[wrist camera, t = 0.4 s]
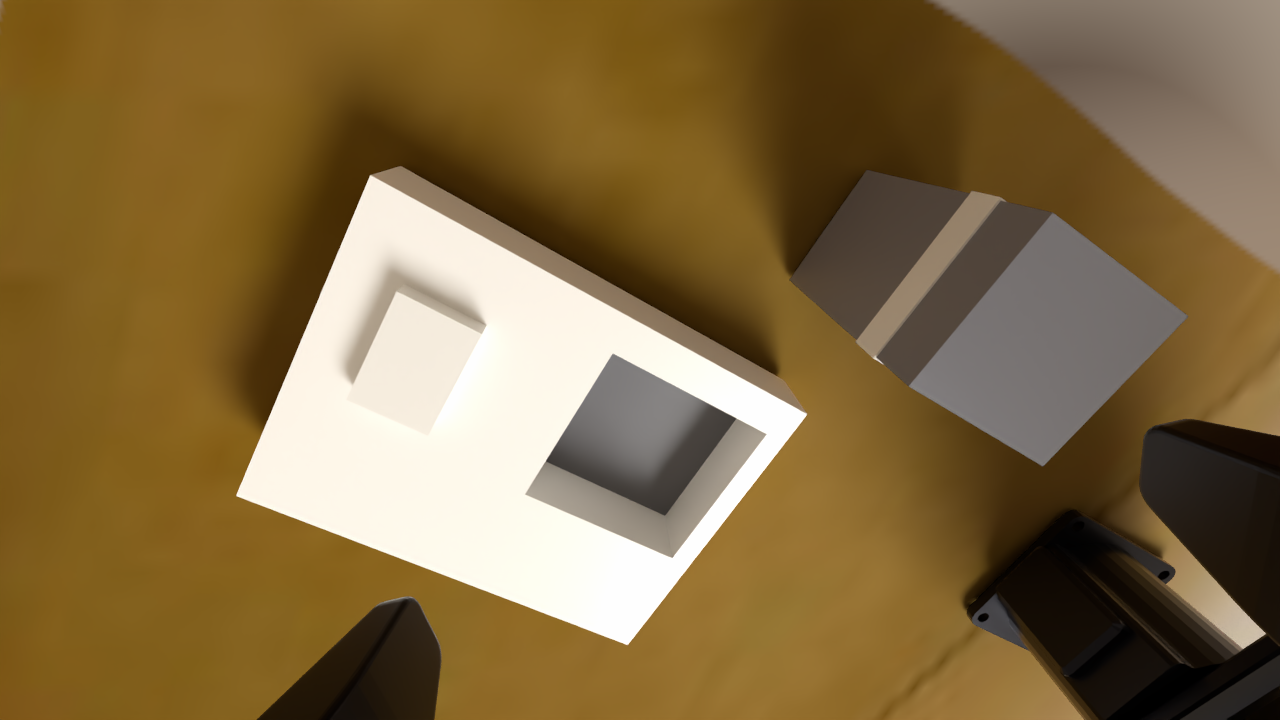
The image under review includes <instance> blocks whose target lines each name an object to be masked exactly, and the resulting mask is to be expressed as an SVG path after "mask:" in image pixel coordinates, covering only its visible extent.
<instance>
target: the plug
mask: <svg viewBox="0 0 1280 720" xmlns="http://www.w3.org/2000/svg"><path fill="white" fill-rule="evenodd" d="M790 281H791V282H792V283H793V284H794V285H795V286H797V287H798V288H799V289H800V290H801V291H802V292H803V293H804V294H806V295H807V296H808V297H809V298H810V299H811V300H812V301H813V302H815V303H816V304H817V305H818V306H819V307H820V308H821V309H822V310H823V311H825V312H826V313H827V314H828V315H829V316H830V317H831V318H832V319H834V320H835V321H836V322H837V323H838V324H839V325H840V326H841V327H843V328H844V329H845V330H846V331H847V332H848V333H849V334H850V335H852V336H853V337H854V338H855V339H856V343H857V344H858V345H859V346H860V347H861V348H862V349H863V350H865V351H866V352H867V353H868V354H869V355H870V356H871V357H872V358H874V359H875V360H877V361H879V362H880V363H882V364H884V365H885V366H886V367H887V368H889V369H890V370H891V371H892V372H893V373H894V374H895V375H896V376H898V377H899V378H900V379H901V380H902V381H903V382H904V383H905V384H907V385H908V386H909V387H911V388H912V389H914V390H916V391H917V392H919V393H921V394H922V395H924V396H926V397H927V398H929V399H931V400H932V401H934V402H936V403H937V404H939V405H941V406H942V407H944V408H946V409H947V410H949V411H951V412H952V413H954V414H956V415H957V416H959V417H961V418H963V419H964V420H966V421H968V422H969V423H971V424H973V425H974V426H976V427H978V428H979V429H981V430H983V431H984V432H986V433H988V434H989V435H991V436H993V437H994V438H996V439H998V440H999V441H1001V442H1003V443H1004V444H1006V445H1008V446H1009V447H1011V448H1013V449H1014V450H1016V451H1018V452H1020V453H1021V454H1023V455H1025V456H1026V457H1028V458H1030V459H1031V460H1033V461H1035V462H1036V463H1038V464H1040V465H1041V466H1044V465H1045V464H1046V463H1047V462H1048V461H1049V460H1050V459H1051V458H1052V457H1053V456H1054V455H1055V454H1056V452H1057V451H1058V450H1059V449H1060V448H1061V447H1062V446H1063V445H1064V444H1065V443H1066V442H1067V441H1068V440H1069V439H1070V438H1071V437H1072V436H1073V435H1074V434H1075V433H1076V432H1077V431H1078V430H1079V429H1080V428H1081V427H1082V426H1083V425H1084V424H1085V423H1086V422H1087V421H1088V419H1089V418H1090V417H1091V416H1092V415H1093V414H1094V413H1095V412H1096V411H1097V410H1098V409H1099V408H1100V407H1101V406H1102V405H1103V404H1104V403H1105V402H1106V401H1107V400H1108V399H1109V398H1110V397H1111V396H1112V395H1113V394H1114V393H1115V392H1116V391H1117V390H1118V389H1119V388H1120V386H1121V385H1122V384H1123V383H1124V382H1125V381H1126V380H1127V379H1128V378H1129V377H1130V376H1131V375H1132V374H1133V373H1134V372H1135V371H1136V370H1137V369H1138V368H1139V367H1140V366H1141V365H1142V364H1143V363H1144V362H1145V361H1146V360H1147V359H1148V358H1149V357H1150V356H1151V355H1152V354H1153V352H1154V351H1155V350H1156V349H1157V348H1158V347H1159V346H1160V345H1161V344H1162V343H1163V342H1164V341H1165V340H1166V339H1167V338H1168V337H1169V336H1170V335H1171V334H1172V333H1173V332H1174V331H1175V330H1176V329H1177V328H1178V327H1179V326H1180V325H1181V324H1182V323H1183V322H1184V321H1185V319H1186V318H1187V317H1188V316H1187V315H1186V314H1185V313H1183V312H1182V311H1181V310H1180V309H1178V308H1177V307H1176V306H1174V305H1173V304H1172V303H1170V302H1169V301H1168V300H1166V299H1165V298H1164V297H1163V296H1161V295H1160V294H1159V293H1157V292H1156V291H1155V290H1153V289H1152V288H1151V287H1149V286H1148V285H1147V284H1146V283H1144V282H1143V281H1142V280H1140V279H1139V278H1138V277H1136V276H1135V275H1134V274H1132V273H1131V272H1130V271H1129V270H1127V269H1126V268H1125V267H1123V266H1122V265H1121V264H1119V263H1118V262H1117V261H1116V260H1114V259H1113V258H1112V257H1110V256H1109V255H1108V254H1106V253H1105V252H1104V251H1102V250H1101V249H1100V248H1099V247H1097V246H1096V245H1095V244H1093V243H1092V242H1091V241H1089V240H1088V239H1087V238H1085V237H1084V236H1083V235H1082V234H1080V233H1079V232H1078V231H1076V230H1075V229H1074V228H1072V227H1071V226H1070V225H1068V224H1067V223H1066V222H1065V221H1063V220H1062V219H1061V218H1059V217H1058V216H1057V215H1055V214H1054V213H1052V212H1048V211H1044V210H1039V209H1035V208H1031V207H1026V206H1022V205H1018V204H1013V203H1009V202H1007V201H1005V200H1004V199H1003V198H1001V197H998V196H993V195H989V194H984V193H980V192H975V191H972V192H971V193H965V192H961V191H957V190H952V189H948V188H944V187H939V186H935V185H930V184H926V183H922V182H917V181H913V180H909V179H904V178H900V177H896V176H891V175H887V174H883V173H878V172H874V171H870V170H866V172H865V173H864V174H863V176H862V177H861V179H860V180H859V182H858V183H857V184H856V186H855V187H854V189H853V190H852V191H851V193H850V194H849V196H848V197H847V199H846V200H845V201H844V203H843V204H842V206H841V207H840V209H839V210H838V211H837V213H836V214H835V216H834V217H833V219H832V220H831V221H830V223H829V224H828V226H827V227H826V228H825V230H824V231H823V233H822V234H821V236H820V237H819V238H818V240H817V241H816V243H815V244H814V246H813V247H812V248H811V250H810V251H809V253H808V254H807V256H806V257H805V258H804V260H803V261H802V263H801V264H800V265H799V267H798V268H797V270H796V271H795V273H794V274H793V275H792V277H791V278H790Z"/></svg>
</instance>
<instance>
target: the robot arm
mask: <svg viewBox="0 0 1280 720" xmlns="http://www.w3.org/2000/svg"><path fill="white" fill-rule="evenodd" d="M1139 487H1140V491H1141V494H1142V496H1143V498H1144V500H1145V502H1146V503H1147V505H1148V506H1149V507H1150V508H1151V509H1152V511H1153V512H1154V513H1155V514H1156V515H1157V516H1158V517H1159V518H1160V519H1161V521H1162V522H1163V523H1164V524H1165V525H1166V526H1167V527H1168V528H1169V529H1170V530H1171V532H1172V533H1173V534H1174V535H1175V536H1176V537H1177V538H1178V539H1179V540H1180V542H1181V543H1182V544H1183V545H1184V546H1185V547H1186V548H1187V549H1188V550H1189V551H1190V553H1191V554H1192V555H1193V556H1194V557H1195V558H1196V559H1197V560H1198V561H1199V563H1200V564H1201V565H1202V566H1203V567H1204V568H1205V569H1206V570H1207V571H1208V572H1209V574H1210V575H1211V576H1212V577H1213V578H1214V579H1215V580H1216V581H1217V582H1218V584H1219V585H1220V586H1221V587H1222V588H1223V589H1224V590H1225V591H1226V592H1227V593H1228V595H1229V596H1230V597H1231V598H1232V599H1233V600H1234V601H1235V602H1236V603H1237V604H1238V605H1239V606H1240V607H1241V609H1242V610H1243V611H1244V612H1245V613H1246V614H1247V615H1248V616H1249V617H1250V618H1251V619H1252V620H1253V621H1254V622H1255V623H1256V624H1257V625H1258V626H1259V627H1260V628H1261V629H1262V630H1263V631H1264V632H1265V633H1266V634H1265V635H1264V636H1262V637H1261V638H1259V639H1258V640H1256V641H1255V642H1253V643H1252V644H1250V645H1249V646H1247V647H1246V648H1244V649H1242V648H1241V647H1240V646H1239V645H1238V644H1236V643H1235V642H1234V641H1233V640H1232V639H1230V638H1229V637H1228V636H1227V635H1226V634H1225V633H1223V632H1222V631H1221V630H1220V629H1219V628H1217V627H1216V626H1215V625H1214V624H1213V623H1211V622H1210V621H1209V620H1208V619H1207V618H1205V617H1204V616H1203V615H1202V614H1201V613H1199V612H1198V611H1197V610H1196V609H1195V608H1193V607H1192V606H1191V605H1190V604H1189V603H1188V602H1186V601H1185V600H1184V599H1183V598H1182V597H1180V596H1179V595H1178V594H1177V593H1176V592H1174V591H1173V590H1172V589H1171V588H1170V587H1168V586H1167V585H1166V583H1168V582H1169V581H1170V580H1171V579H1172V578H1173V577H1174V575H1175V569H1174V568H1173V567H1172V566H1171V565H1170V564H1168V563H1167V562H1166V561H1165V560H1163V559H1161V558H1159V557H1158V556H1156V555H1154V554H1153V553H1151V552H1149V551H1147V550H1146V549H1144V548H1142V547H1141V546H1139V545H1137V544H1135V543H1134V542H1132V541H1130V540H1128V539H1127V538H1125V537H1123V536H1122V535H1120V534H1118V533H1116V532H1115V531H1113V530H1111V529H1110V528H1108V527H1106V526H1104V525H1103V524H1101V523H1099V522H1098V521H1096V520H1094V519H1092V518H1091V517H1089V516H1087V515H1086V514H1084V513H1082V512H1080V511H1077V510H1071V511H1069V512H1067V513H1065V514H1064V515H1063V516H1061V517H1060V518H1059V519H1058V520H1057V521H1056V522H1055V523H1054V524H1053V525H1052V526H1051V527H1050V528H1049V529H1048V530H1047V531H1046V532H1045V533H1044V534H1043V535H1042V536H1041V537H1040V538H1039V539H1038V540H1037V541H1036V542H1035V543H1034V544H1033V545H1032V546H1031V547H1030V548H1029V549H1028V550H1027V551H1026V552H1025V553H1024V554H1023V555H1022V556H1021V557H1020V558H1019V559H1018V560H1017V561H1016V562H1015V563H1014V564H1013V565H1011V566H1010V567H1009V568H1008V569H1007V570H1006V571H1005V572H1004V573H1003V574H1002V575H1001V576H1000V577H999V578H998V579H997V580H996V581H995V582H994V583H993V584H992V585H991V586H990V587H989V588H988V589H987V590H986V591H985V592H984V593H983V594H982V595H981V596H980V597H979V598H978V599H977V600H976V601H975V602H974V603H973V604H972V605H971V606H970V607H969V608H968V609H967V616H968V617H969V619H970V620H971V621H972V623H973V624H974V625H976V626H978V627H980V628H982V629H984V630H986V631H988V632H991V633H993V634H995V635H997V636H999V637H1001V638H1003V639H1005V640H1007V641H1010V642H1012V643H1014V644H1016V645H1018V646H1020V647H1022V648H1024V649H1026V650H1029V651H1030V652H1031V653H1032V655H1033V656H1034V657H1035V658H1036V660H1037V661H1038V662H1039V663H1040V665H1041V666H1042V667H1043V668H1044V670H1045V671H1046V672H1047V673H1048V675H1049V676H1050V677H1051V679H1052V680H1053V681H1054V682H1055V684H1056V685H1057V686H1058V687H1059V689H1060V690H1061V691H1062V692H1063V694H1064V695H1065V696H1066V697H1067V699H1068V700H1069V701H1070V702H1071V704H1072V705H1073V706H1074V707H1075V709H1076V710H1077V711H1078V712H1079V714H1080V715H1081V716H1082V717H1083V719H1084V720H1280V436H1276V435H1271V434H1266V433H1261V432H1256V431H1251V430H1245V429H1240V428H1235V427H1230V426H1225V425H1220V424H1215V423H1210V422H1205V421H1200V420H1194V419H1183V420H1178V421H1173V422H1169V423H1165V424H1160V425H1156V426H1153V427H1152V428H1150V429H1149V430H1148V431H1147V432H1146V434H1145V435H1144V439H1143V449H1142V459H1141V468H1140V478H1139ZM440 669H441V649H440V645H439V642H438V639H437V637H436V635H435V633H434V631H433V629H432V628H431V626H430V624H429V622H428V620H427V618H426V616H425V614H424V612H423V610H422V608H421V606H420V604H419V603H418V601H417V600H416V599H414V598H413V597H402V598H398V599H394V600H389V601H385V602H382V603H380V604H378V605H377V606H375V607H374V608H373V609H372V610H371V611H370V612H369V613H368V614H367V615H366V616H365V617H364V618H363V619H362V620H361V621H360V622H359V623H358V624H356V625H355V626H354V627H353V628H352V629H351V630H350V631H349V632H348V633H347V634H346V635H345V636H344V637H343V638H342V639H341V640H340V641H339V642H338V643H337V644H336V645H334V646H333V647H332V648H331V649H330V650H329V651H328V652H327V653H326V654H325V655H324V656H323V657H322V658H321V659H320V660H319V661H318V662H317V663H316V664H315V665H314V666H312V667H311V668H310V669H309V670H308V671H307V672H306V673H305V674H304V675H303V676H302V677H301V678H300V679H299V680H298V681H297V682H296V683H295V684H294V685H293V686H292V687H290V688H289V689H288V690H287V691H286V692H285V693H284V694H283V695H282V696H281V697H280V698H279V699H278V700H277V701H276V702H275V703H274V704H273V705H272V706H271V707H270V708H268V709H267V710H266V711H265V712H264V713H263V714H262V715H261V716H260V717H259V718H258V719H257V720H434V719H435V710H436V702H437V694H438V686H439V677H440Z"/></svg>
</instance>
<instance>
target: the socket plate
mask: <svg viewBox="0 0 1280 720" xmlns="http://www.w3.org/2000/svg"><path fill="white" fill-rule="evenodd" d="M806 415H807V413H806V412H805V410H804V409H803V407H802V406H801V404H800V403H799V401H798V400H797V399H796V397H795V396H794V394H793V393H792V391H791V390H790V388H789V387H788V385H787V384H786V382H785V381H784V380H783V379H781V378H779V377H777V376H776V375H774V374H772V373H770V372H768V371H767V370H765V369H763V368H761V367H759V366H758V365H756V364H754V363H752V362H750V361H749V360H747V359H745V358H743V357H742V356H740V355H738V354H736V353H734V352H733V351H731V350H729V349H727V348H725V347H724V346H722V345H720V344H718V343H717V342H715V341H713V340H711V339H709V338H708V337H706V336H704V335H702V334H700V333H699V332H697V331H695V330H693V329H691V328H690V327H688V326H686V325H684V324H683V323H681V322H679V321H677V320H675V319H674V318H672V317H670V316H668V315H666V314H665V313H663V312H661V311H659V310H657V309H656V308H654V307H652V306H650V305H649V304H647V303H645V302H643V301H641V300H640V299H638V298H636V297H634V296H632V295H631V294H629V293H627V292H625V291H624V290H622V289H620V288H618V287H616V286H615V285H613V284H611V283H609V282H607V281H606V280H604V279H602V278H600V277H598V276H597V275H595V274H593V273H591V272H590V271H588V270H586V269H584V268H582V267H581V266H579V265H577V264H575V263H573V262H572V261H570V260H568V259H566V258H565V257H563V256H561V255H559V254H557V253H556V252H554V251H552V250H550V249H548V248H547V247H545V246H543V245H541V244H539V243H538V242H536V241H534V240H532V239H531V238H529V237H527V236H525V235H523V234H522V233H520V232H518V231H516V230H514V229H513V228H511V227H509V226H507V225H505V224H504V223H502V222H500V221H498V220H497V219H495V218H493V217H491V216H489V215H488V214H486V213H484V212H482V211H480V210H479V209H477V208H475V207H473V206H472V205H470V204H468V203H466V202H464V201H463V200H461V199H459V198H457V197H455V196H454V195H452V194H450V193H448V192H446V191H445V190H443V189H441V188H439V187H438V186H436V185H434V184H432V183H430V182H429V181H427V180H425V179H423V178H421V177H420V176H418V175H416V174H414V173H413V172H411V171H409V170H407V169H405V168H404V167H402V166H399V167H396V168H392V169H389V170H386V171H382V172H379V173H376V174H372V175H370V177H369V179H368V182H367V184H366V187H365V189H364V191H363V194H362V196H361V199H360V201H359V203H358V206H357V208H356V210H355V213H354V215H353V218H352V220H351V222H350V225H349V227H348V230H347V232H346V234H345V237H344V239H343V242H342V244H341V246H340V249H339V251H338V254H337V256H336V258H335V261H334V263H333V266H332V268H331V270H330V273H329V275H328V277H327V280H326V282H325V285H324V287H323V289H322V292H321V294H320V297H319V299H318V301H317V304H316V306H315V309H314V311H313V313H312V316H311V318H310V321H309V323H308V325H307V328H306V330H305V332H304V335H303V337H302V340H301V342H300V344H299V347H298V349H297V352H296V354H295V356H294V359H293V361H292V364H291V366H290V368H289V371H288V373H287V376H286V378H285V380H284V383H283V385H282V388H281V390H280V392H279V395H278V397H277V399H276V402H275V404H274V407H273V409H272V411H271V414H270V416H269V419H268V421H267V423H266V426H265V428H264V431H263V433H262V435H261V438H260V440H259V443H258V445H257V447H256V450H255V452H254V454H253V457H252V459H251V462H250V464H249V466H248V469H247V471H246V474H245V476H244V478H243V481H242V483H241V486H240V488H239V490H238V493H237V495H236V496H238V497H240V498H243V499H246V500H248V501H251V502H254V503H256V504H259V505H261V506H264V507H267V508H269V509H272V510H275V511H277V512H280V513H282V514H285V515H288V516H290V517H293V518H296V519H298V520H301V521H304V522H306V523H309V524H311V525H314V526H317V527H319V528H322V529H325V530H327V531H330V532H332V533H335V534H338V535H340V536H343V537H346V538H348V539H351V540H353V541H356V542H359V543H361V544H364V545H367V546H369V547H372V548H374V549H377V550H380V551H382V552H385V553H388V554H390V555H393V556H395V557H398V558H401V559H403V560H406V561H409V562H411V563H414V564H416V565H419V566H422V567H424V568H427V569H430V570H432V571H435V572H438V573H440V574H443V575H445V576H448V577H451V578H453V579H456V580H459V581H461V582H464V583H466V584H469V585H472V586H474V587H477V588H480V589H482V590H485V591H487V592H490V593H493V594H495V595H498V596H501V597H503V598H506V599H508V600H511V601H514V602H516V603H519V604H522V605H524V606H527V607H529V608H532V609H535V610H537V611H540V612H543V613H545V614H548V615H551V616H553V617H556V618H558V619H561V620H564V621H566V622H569V623H572V624H574V625H577V626H579V627H582V628H585V629H587V630H590V631H593V632H595V633H598V634H600V635H603V636H606V637H608V638H611V639H614V640H616V641H619V642H621V643H624V644H627V645H628V644H629V643H630V641H631V640H632V639H633V637H634V636H635V635H636V634H637V632H638V631H639V630H640V628H641V627H642V626H643V625H644V623H645V622H646V621H647V619H648V618H649V617H650V616H651V614H652V613H653V612H654V610H655V609H656V608H657V607H658V605H659V604H660V603H661V601H662V600H663V599H664V598H665V596H666V595H667V594H668V592H669V591H670V590H671V589H672V587H673V586H674V585H675V584H676V582H677V581H678V580H679V578H680V577H681V576H682V575H683V573H684V572H685V571H686V569H687V568H688V567H689V566H690V564H691V563H692V562H693V560H694V559H695V558H696V557H697V555H698V554H699V553H700V551H701V550H702V549H703V548H704V546H705V545H706V544H707V542H708V541H709V540H710V539H711V537H712V536H713V535H714V533H715V532H716V531H717V530H718V528H719V527H720V526H721V524H722V523H723V522H724V521H725V519H726V518H727V517H728V515H729V514H730V513H731V512H732V510H733V509H734V508H735V507H736V505H737V504H738V503H739V501H740V500H741V499H742V498H743V496H744V495H745V494H746V492H747V491H748V490H749V489H750V487H751V486H752V485H753V483H754V482H755V481H756V480H757V478H758V477H759V476H760V474H761V473H762V472H763V471H764V469H765V468H766V467H767V465H768V464H769V463H770V462H771V460H772V459H773V458H774V456H775V455H776V454H777V453H778V451H779V450H780V449H781V447H782V446H783V445H784V444H785V442H786V441H787V440H788V438H789V437H790V436H791V435H792V433H793V432H794V431H795V430H796V428H797V427H798V426H799V424H800V423H801V422H802V421H803V419H804V418H805V417H806Z"/></svg>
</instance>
